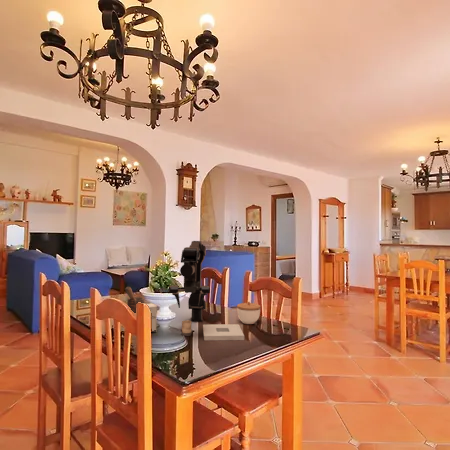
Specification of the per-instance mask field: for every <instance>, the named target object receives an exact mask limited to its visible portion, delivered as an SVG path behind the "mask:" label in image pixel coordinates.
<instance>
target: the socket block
mask: <svg viewBox="0 0 450 450" xmlns="http://www.w3.org/2000/svg"><path fill="white" fill-rule="evenodd" d="M202 333H203V334H202V335H203V340H204V341H245V334H244V333H243V330H242V328H241V326H240V324H238V323H237V324H236V323H235V324H234V323H233V324H231V323H230V324H229V323H228V324H226V323H225V324H221V323H220V324H218V323H217V324H202Z"/></svg>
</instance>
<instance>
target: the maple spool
mask: <svg viewBox="0 0 450 450" xmlns="http://www.w3.org/2000/svg"><path fill="white" fill-rule="evenodd" d="M192 322H193V321H191V320H187V319H186V320H183V321H181V336H183V335H184V336H185V337H189V336H192Z"/></svg>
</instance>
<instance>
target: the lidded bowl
mask: <svg viewBox="0 0 450 450" xmlns="http://www.w3.org/2000/svg"><path fill="white" fill-rule="evenodd" d="M236 310H237V311H236V312H237V317H238V319H239V320H240V321H241V323H242V324H245V325H253V324H256V323H257V321H258V320H259V318H260V314H261V305H260V304H257V303H254V302H250V301H247V302H243V303H238V304H237V305H236Z"/></svg>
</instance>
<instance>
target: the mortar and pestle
mask: <svg viewBox="0 0 450 450" xmlns="http://www.w3.org/2000/svg"><path fill="white" fill-rule="evenodd" d="M124 290H125V294H126V295H127V296H128V298H127V299H126V300H127V302H126V303H127V304H126V305H128V306H129V307H130V308H131V310H132V311H133V312H134V313H136V304H137V303H138V302H141V303H144V304H145V297H144V296H134V292H133V290H132V288H131V286H126V287H125V288H124Z"/></svg>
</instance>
